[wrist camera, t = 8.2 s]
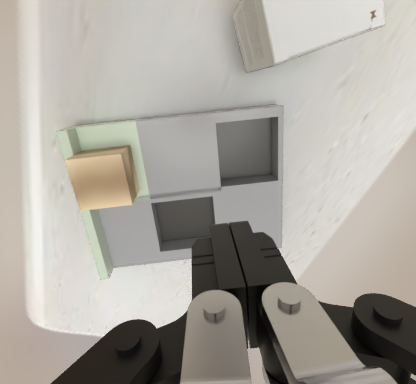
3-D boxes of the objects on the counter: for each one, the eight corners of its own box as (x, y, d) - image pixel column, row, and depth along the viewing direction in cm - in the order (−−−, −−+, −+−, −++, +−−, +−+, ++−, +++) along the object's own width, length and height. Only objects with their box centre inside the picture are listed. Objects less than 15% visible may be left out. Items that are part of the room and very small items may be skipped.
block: (81, 150, 27) (64, 160, 23) (130, 145, 27) (120, 153, 24) (94, 195, 29) (80, 210, 25) (139, 190, 29) (132, 204, 25)
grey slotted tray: (75, 125, 29) (55, 131, 24) (275, 104, 29) (290, 107, 25) (111, 256, 35) (100, 279, 31) (275, 237, 35) (287, 257, 31)
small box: (309, -15, 25) (383, -80, 16) (318, 48, 28) (389, 24, 18) (229, 14, 26) (254, -31, 16) (244, 74, 28) (274, 66, 18)
